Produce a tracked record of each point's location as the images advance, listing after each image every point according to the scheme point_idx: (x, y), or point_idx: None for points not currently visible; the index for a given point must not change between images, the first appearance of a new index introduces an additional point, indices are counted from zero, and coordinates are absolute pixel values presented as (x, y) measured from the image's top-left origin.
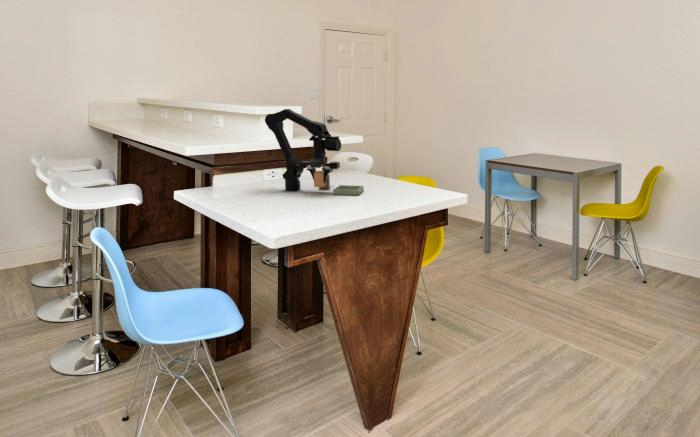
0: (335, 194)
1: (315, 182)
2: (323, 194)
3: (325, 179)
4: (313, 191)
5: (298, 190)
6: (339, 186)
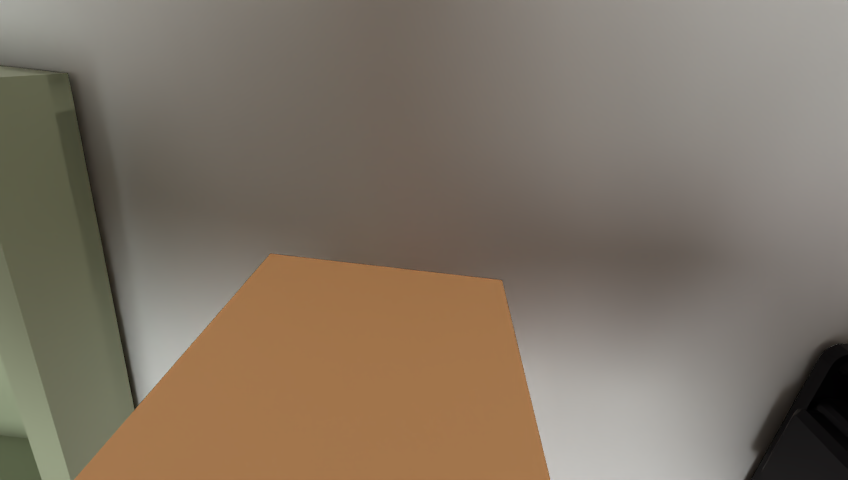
0: (14, 67)
1: (469, 343)
2: (297, 153)
3: None
4: None
5: (784, 422)
6: (28, 435)
